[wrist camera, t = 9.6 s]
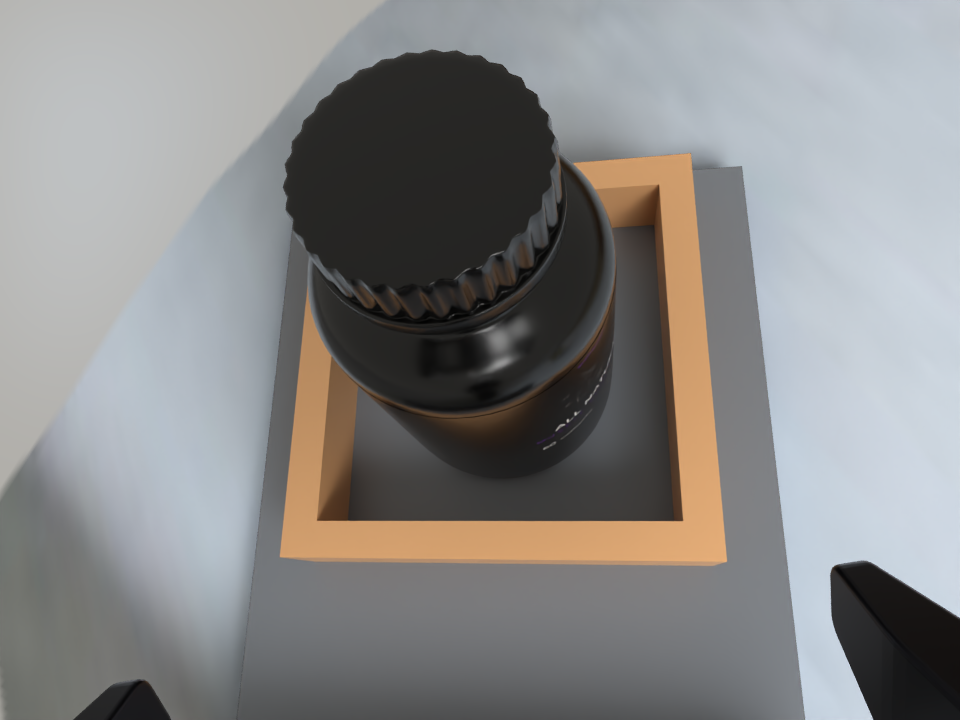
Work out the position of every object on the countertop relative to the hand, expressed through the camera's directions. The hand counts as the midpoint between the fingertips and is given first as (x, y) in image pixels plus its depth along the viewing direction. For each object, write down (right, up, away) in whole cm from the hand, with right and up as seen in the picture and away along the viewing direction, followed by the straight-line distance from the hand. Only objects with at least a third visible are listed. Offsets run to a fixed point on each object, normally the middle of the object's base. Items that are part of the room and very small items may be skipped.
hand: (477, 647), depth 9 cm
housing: (+1, 0, +14) cm, 14 cm away
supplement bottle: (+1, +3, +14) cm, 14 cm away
